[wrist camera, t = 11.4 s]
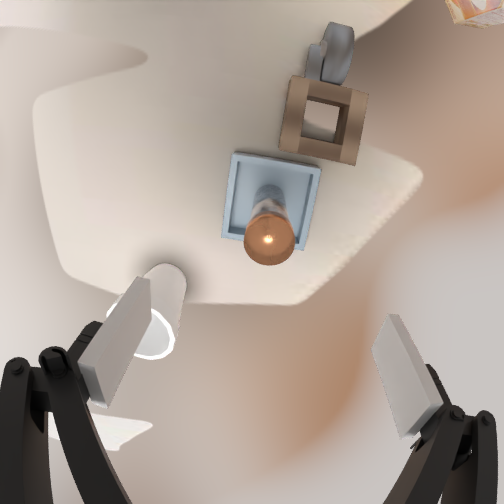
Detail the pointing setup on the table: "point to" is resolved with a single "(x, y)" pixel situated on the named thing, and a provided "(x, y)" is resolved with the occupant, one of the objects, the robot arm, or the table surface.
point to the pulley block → (326, 99)
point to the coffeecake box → (476, 12)
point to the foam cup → (162, 311)
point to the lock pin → (269, 228)
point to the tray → (275, 173)
